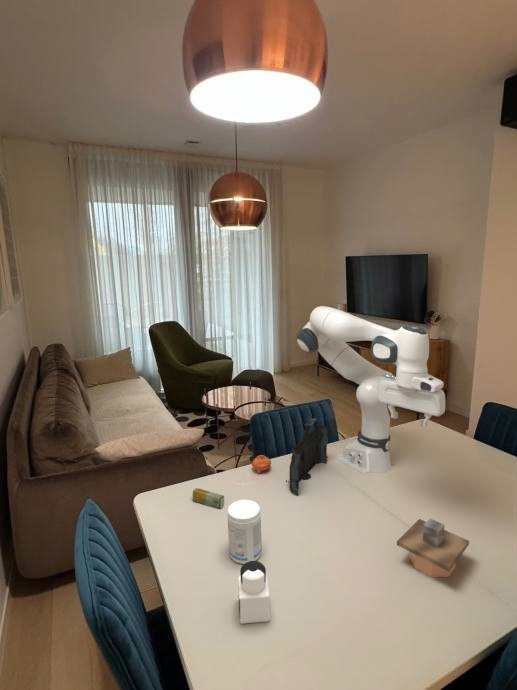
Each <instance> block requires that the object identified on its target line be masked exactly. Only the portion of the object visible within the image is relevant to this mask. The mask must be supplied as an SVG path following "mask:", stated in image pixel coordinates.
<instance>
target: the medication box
mask: <svg viewBox="0 0 517 690" xmlns="http://www.w3.org/2000/svg"><path fill="white" fill-rule="evenodd" d="M192 501H193V502H196V503H200V504H203V505H206V506H209V507H212V508H214V509H219V510H222V509H223V508H224V506H225V495H222V494H219V493H216V492H213V491H209V490H206V489H202V488H199V487H196V488H194V489H192Z"/></svg>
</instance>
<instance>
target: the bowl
mask: <svg viewBox="0 0 517 690" xmlns="http://www.w3.org/2000/svg"><path fill="white" fill-rule="evenodd" d="M408 556H409V558H410V561H411V563H412V565H413V567H414V569H416V570H418V571H420V572H421V573H423V574H426V575H427V576H429V577H431V578H448V577H450V576H451V574H452V573H453V572H454V570H455V569H456V568H457V567H456V566H457V562H456V563H455V564H454V565H453V567H452V568H451V569H450V571H447V570H445V569H443V568H441V567H439V566H437V565H435V564H433V563H431V562H429V561H427V560H425V559H423V558H421V557H419V556H417V555H415V554H413V553H411V552H409V551H408Z"/></svg>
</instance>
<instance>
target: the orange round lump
mask: <svg viewBox="0 0 517 690" xmlns="http://www.w3.org/2000/svg"><path fill="white" fill-rule="evenodd" d="M271 465H272V461H271V459H270V458H269V457H267V456H265V455H263V454H259V455H257V456H256V457H255V458H254V459H253V460H252V462H251V466H252V467H253V468H254V469H255V470H256V471H257V473H258V474H261V471H265V470H267V469H268V471H270V470H271Z"/></svg>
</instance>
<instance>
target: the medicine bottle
mask: <svg viewBox="0 0 517 690" xmlns="http://www.w3.org/2000/svg"><path fill="white" fill-rule="evenodd" d="M237 581H238V582H237V583H238V584H237V585H238V587H237V588H238V613H239V614H238V615H239V624H241V625H242V624H252V623H253V624H255V623H265V622H270V620H271V609H270V608H271V607H270V605H271V604H270V603H271V601H270V599H271V597H270V589H269V582H268V575H267V569H266V566H265V565H264V564H263V563H262V562H260V561H257V560H256V561H249V562H247V563H245V564H243V565H241V568H240V575H238V577H237Z"/></svg>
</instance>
